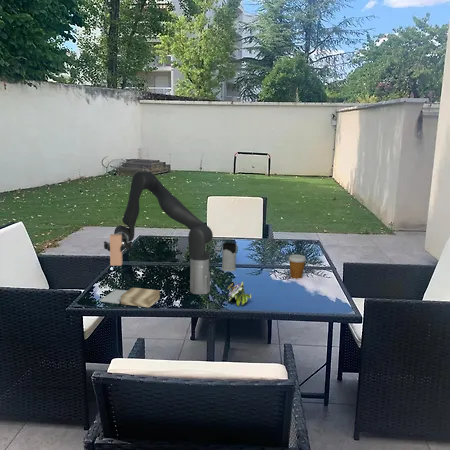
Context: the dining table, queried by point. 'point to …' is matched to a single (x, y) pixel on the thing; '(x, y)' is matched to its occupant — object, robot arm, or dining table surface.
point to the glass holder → (229, 257)
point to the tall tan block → (115, 250)
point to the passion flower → (237, 290)
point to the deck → (140, 297)
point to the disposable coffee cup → (296, 265)
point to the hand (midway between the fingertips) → (115, 249)
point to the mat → (113, 296)
